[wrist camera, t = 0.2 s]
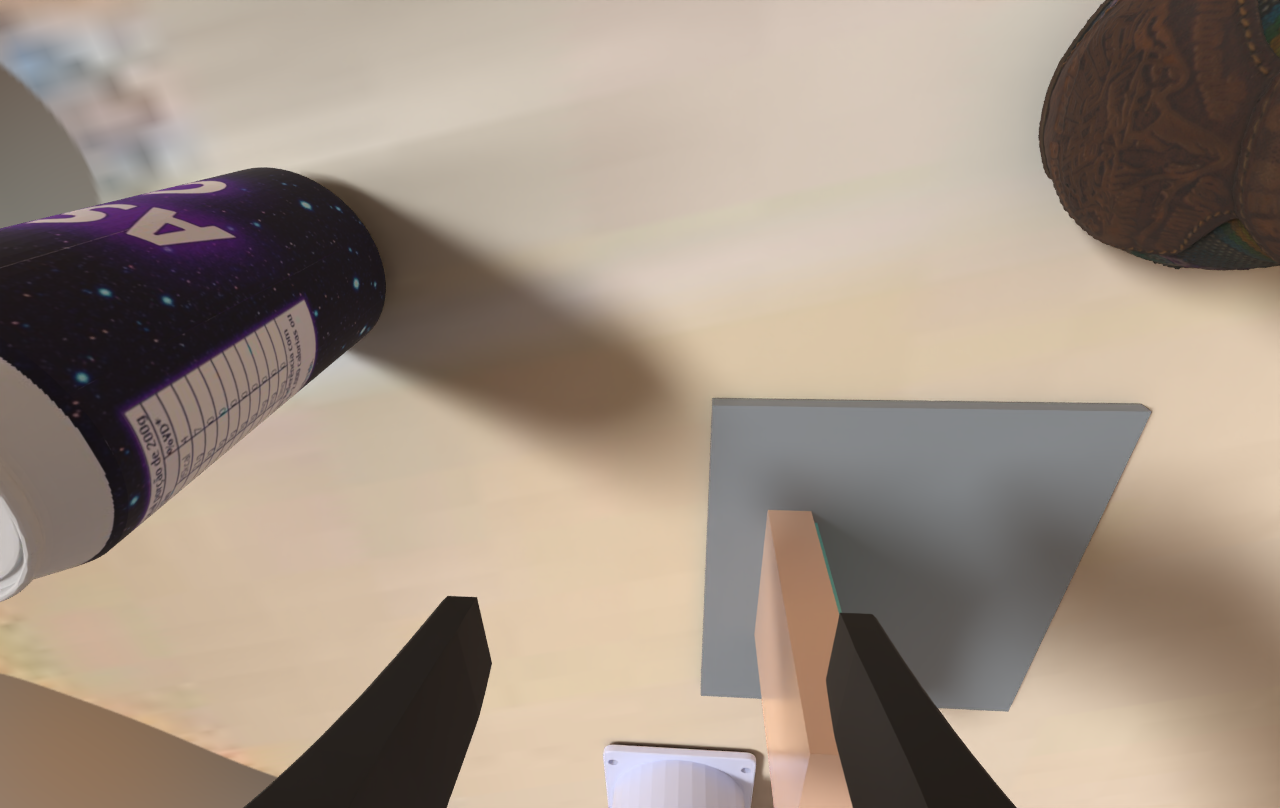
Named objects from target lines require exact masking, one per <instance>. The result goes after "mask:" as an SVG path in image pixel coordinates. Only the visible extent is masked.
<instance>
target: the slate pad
mask: <svg viewBox="0 0 1280 808" xmlns="http://www.w3.org/2000/svg"><path fill="white" fill-rule="evenodd" d="M1150 414H1151V411H1150V410H1149V409H1147V408H1146V407H1145V406H1143V405H1142V404H1112V403H1036V402H960V401H884V400H809V399H733V398H713V399H712V423H711V448H710V472H709V496H708V521H707V545H706V570H705V594H704V618H703V643H702V667H701V696H719V697H738V698H757V699H762V698H761V689H760V680H759V671H758V662H757V653H756V644H755V636H754V633H755V624H756V615H757V605H758V596H759V587H760V577H761V568H762V559H763V549H764V540H765V531H766V521H767V512H768V510H788V511H811V512H812V516H813V520H814V523H817V524H818V528H819V531H820V535H821V539H822V542H823V546H824V549H825V553H826V557H827V560H828V564H829V567H830V571H831V575H832V578H833V582H834V586H835V589H836V593H837V596H838V600H839V604H840V607H841V611H842V613H861V614H873V615H874V616H875V617H876V618H877V620H878V621H879V623H880V624H881V626H882V627H883V629H884V631H885V632H886V634H887V635H888V637H889V638H890V640H891V642H892V643H893V645H894V646H895V648H896V649H897V651H898V652H899V654H900V655H901V657H902V658H903V660H904V661H905V663H906V664H907V666H908V667H909V669H910V670H911V671H912V673H913V674H914V676H915V677H916V679H917V680H918V682H919V683H920V685H921V686H922V687H923V689H924V690H925V692H926V693H927V694H928V696H929V697H930V699H931V700H932V701H933V703H934V704H935V705H936V707H937V708H950V709H969V710H988V711H1009V709H1010V706H1011V704H1012V702H1013V700H1014V698H1015V696H1016V694H1017V692H1018V690H1019V688H1020V686H1021V683H1022V681H1023V679H1024V677H1025V675H1026V673H1027V671H1028V669H1029V667H1030V665H1031V663H1032V661H1033V658H1034V656H1035V654H1036V652H1037V650H1038V648H1039V646H1040V644H1041V642H1042V640H1043V638H1044V635H1045V633H1046V631H1047V629H1048V627H1049V625H1050V623H1051V621H1052V619H1053V617H1054V615H1055V613H1056V610H1057V608H1058V606H1059V604H1060V602H1061V600H1062V598H1063V596H1064V594H1065V592H1066V590H1067V587H1068V585H1069V583H1070V581H1071V579H1072V577H1073V575H1074V573H1075V571H1076V569H1077V567H1078V564H1079V562H1080V560H1081V558H1082V556H1083V554H1084V552H1085V550H1086V548H1087V546H1088V544H1089V542H1090V539H1091V537H1092V535H1093V533H1094V531H1095V529H1096V527H1097V525H1098V523H1099V521H1100V519H1101V516H1102V514H1103V512H1104V510H1105V508H1106V506H1107V504H1108V502H1109V500H1110V498H1111V496H1112V494H1113V491H1114V489H1115V487H1116V485H1117V483H1118V481H1119V479H1120V477H1121V475H1122V473H1123V471H1124V468H1125V466H1126V464H1127V462H1128V460H1129V458H1130V456H1131V454H1132V452H1133V450H1134V448H1135V446H1136V443H1137V441H1138V439H1139V437H1140V435H1141V433H1142V431H1143V429H1144V427H1145V425H1146V423H1147V420H1148V418H1149V416H1150Z"/></svg>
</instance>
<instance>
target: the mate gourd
mask: <svg viewBox="0 0 1280 808" xmlns="http://www.w3.org/2000/svg"><path fill="white" fill-rule="evenodd" d="M1039 124H1040V127H1039V135H1038V136H1039V137H1038V138H1039V141H1040V142H1039V147H1040V152H1041V157H1042V163H1043V168H1044V170H1045V173H1046V174H1047V176H1048V178H1049V179H1052V181H1053V183H1054V188H1055V190H1056V193H1057V195H1058V196H1059V199H1060V203H1061V204H1062V205H1063V207H1064V210H1065V211H1067V212H1068V213H1069V216H1070V217H1071V218H1073V219H1074V220H1075V222H1076V224H1078V225H1079V226H1081V228H1082V229H1083V230H1084V231H1086V232H1087V233H1088V234H1089V235H1091V236H1093V238H1094V239H1097V240H1099V241H1101V242H1102V243H1105V244H1107V245H1110V246H1113V247H1116V248H1118V249H1119V248H1120V249H1122V250H1124V251H1126V252H1128V253H1130V254H1133V255H1135V256H1137V257H1141V258H1143V259H1146V260H1149V261H1153V262H1154V263H1155V264H1156V263H1159V264H1163V266H1168V267H1174V268H1175V269H1180V268H1183V267H1184V268H1202V269H1206V270H1249V269H1254V268H1267V267H1272V266H1280V0H1106V1H1105V2H1104V3H1103V4H1101V5H1100V7H1099V8H1098V9H1097V11H1096V12H1095V13H1094V14H1093V15H1092V16H1091V17H1090V19H1089V20H1088V21H1087V23H1086V25H1085V26H1084V28H1083V29H1081V31H1080V32H1079V34H1078V35H1077V37H1076V38H1075V39H1074V41H1073V42H1072V44H1071V45H1070V47H1069V48H1068V50H1067V51H1066V53H1065V54H1064V56H1063V57H1062V59H1061V60H1060V62H1059V64H1058V66H1057V68H1056V70H1055V73H1054V75H1053V77H1052V80H1051V82H1050V85H1049V87H1048V90H1047V93H1046V97H1045V101H1044V105H1043V109H1042V114H1041V121H1040V123H1039Z"/></svg>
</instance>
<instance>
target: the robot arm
mask: <svg viewBox="0 0 1280 808" xmlns="http://www.w3.org/2000/svg"><path fill="white" fill-rule="evenodd" d="M491 665H492V662H491V657H490V653H489V648H488V644H487V640H486V635H485V631H484V627H483V622H482V618H481V613H480V609H479V605H478V600H477V597H457V596H447V597H446V598H445V599H444V600H443V601H442V602H441V603H440V605H439V606H438V607H437V608H436V609H435V611H434V612H433V613H432V614H431V615H430V617H429V618H428V619H427V620H426V621H425V623H424V624H423V625H422V626H421V627H420V629H419V630H418V631H417V632H416V633H415V635H414V636H413V637H412V638H411V639H410V640H409V642H408V643H407V644H406V645H405V646H404V647H403V649H402V650H401V651H400V652H399V653H398V654H397V656H396V657H395V658H394V659H393V660H392V661H391V662H390V663H389V665H388V666H387V667H386V668H385V669H384V670H383V671H382V672H381V674H380V675H379V676H378V677H377V678H376V679H375V680H374V681H373V683H372V684H371V685H370V686H369V687H368V688H367V689H366V690H365V691H364V692H363V694H362V695H361V696H360V697H359V698H358V699H357V700H356V701H355V702H354V703H353V704H352V705H351V706H350V707H349V708H348V709H347V710H346V711H345V712H344V713H343V714H342V715H341V716H340V718H339V719H338V720H337V721H336V722H335V723H334V724H333V725H332V726H331V727H330V728H329V729H328V730H327V731H326V732H325V733H324V734H323V735H322V736H321V737H320V738H319V739H318V740H317V741H316V742H315V743H314V744H313V745H312V746H311V747H310V748H309V749H308V750H307V751H306V752H305V753H304V754H303V755H302V756H300V757H299V758H298V759H297V760H296V761H295V762H294V763H293V764H292V765H291V766H290V767H289V768H288V769H287V770H285V771H284V772H283V773H282V774H281V775H280V776H279V777H278V778H277V779H276V780H275V781H273V782H272V784H270V785H269V786H268V787H267V788H266V789H265V790H263V791H262V792H261V793H260V794H259V795H258V796H256V797H255V798H254V799H253V800H252V801H251V802H249V803H248V804H247V805H246V806H245V807H244V808H447V805H448V802H449V799H450V797H451V794H452V791H453V788H454V786H455V783H456V780H457V777H458V774H459V772H460V769H461V766H462V763H463V761H464V758H465V755H466V752H467V749H468V747H469V744H470V741H471V738H472V735H473V732H474V730H475V727H476V724H477V721H478V718H479V715H480V711H481V707H482V703H483V699H484V695H485V691H486V687H487V682H488V678H489V674H490V669H491ZM826 686H827V693H828V700H829V707H830V713H831V719H832V726H833V732H834V737H835V741H836V745H837V749H838V753H839V757H840V761H841V765H842V769H843V772H844V776H845V780H846V784H847V788H848V792H849V795H850V799H851V803H852V807H853V808H1016V806H1015V805H1014V804H1013V803H1012V802H1011V801H1010V799H1009V798H1008V797H1007V796H1006V795H1005V794H1004V792H1003V791H1002V790H1001V789H1000V788H999V786H998V785H997V784H996V783H995V782H994V780H993V779H992V778H991V777H990V775H989V774H988V773H987V772H986V770H985V769H984V768H983V767H982V765H981V764H980V763H979V762H978V761H977V759H976V758H975V757H974V756H973V754H972V753H971V752H970V751H969V749H968V748H967V747H966V745H965V744H964V743H963V741H962V740H961V739H960V738H959V736H958V735H957V734H956V732H955V731H954V730H953V728H952V727H951V726H950V724H949V723H948V722H947V720H946V719H945V718H944V716H943V715H942V713H941V712H940V711H939V709H938V708H937V707H936V705H935V704H934V703H933V701H932V700H931V699H930V697H929V696H928V694H927V693H926V692H925V690H924V689H923V687H922V686H921V685H920V683H919V682H918V680H917V679H916V677H915V676H914V674H913V673H912V671H911V670H910V669H909V667H908V666H907V664H906V663H905V661H904V660H903V658H902V657H901V655H900V654H899V652H898V651H897V649H896V648H895V646H894V645H893V643H892V642H891V640H890V638H889V637H888V635H887V634H886V632H885V631H884V629H883V627H882V626H881V624H880V623H879V621H878V620H877V618H876V617H875V616H874V615H873V614H861V613H840V614H839V619H838V624H837V628H836V633H835V638H834V643H833V647H832V652H831V657H830V662H829V667H828V671H827V676H826ZM603 758H604V768H605V777H606V787H607V797H608V807H609V808H751V801H752V794H753V786H754V778H755V771H756V758H755V756H754V755H753V754H751V753H747V752H731V751H714V750H697V749H680V748H663V747H646V746H629V745H608V746H606V747H605V748H604V754H603Z"/></svg>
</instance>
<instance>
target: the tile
mask: <svg viewBox="0 0 1280 808" xmlns="http://www.w3.org/2000/svg"><path fill="white" fill-rule="evenodd" d="M840 613H842V611H841V607H840V604H839V600H838V596H837V593H836V589H835V586H834V582H833V578H832V575H831V571H830V567H829V564H828V560H827V557H826V553H825V549H824V546H823V542H822V539H821V535H820V531H819V528H818V524H817V523H814V520H813V516H812V512H811V511H788V510H768V512H767V521H766V531H765V540H764V549H763V559H762V568H761V577H760V587H759V596H758V605H757V615H756V624H755V633H754V636H755V644H756V653H757V662H758V671H759V680H760V689H761V698H762V706H763V715H764V724H765V733H766V742H767V751H768V760H769V769H770V777H771V786H772V795H773V804H774V808H853V807H852V803H851V799H850V795H849V792H848V788H847V784H846V780H845V776H844V772H843V769H842V765H841V761H840V757H839V753H838V749H837V745H836V741H835V737H834V732H833V726H832V719H831V713H830V707H829V700H828V693H827V686H826V676H827V671H828V667H829V662H830V657H831V652H832V647H833V643H834V638H835V633H836V628H837V624H838V619H839V614H840Z"/></svg>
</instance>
